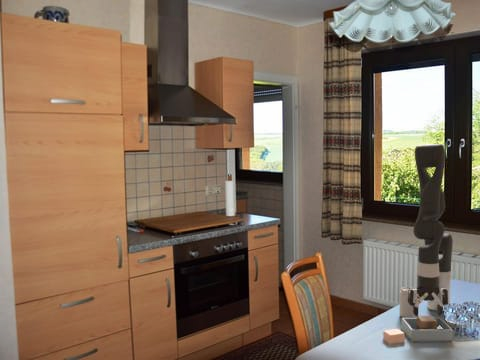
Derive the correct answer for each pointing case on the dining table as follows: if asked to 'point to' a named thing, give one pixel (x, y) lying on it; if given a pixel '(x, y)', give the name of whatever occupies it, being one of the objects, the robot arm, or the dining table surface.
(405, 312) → the can
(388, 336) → the light box
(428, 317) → the block
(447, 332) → the tote
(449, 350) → the dining table surface
